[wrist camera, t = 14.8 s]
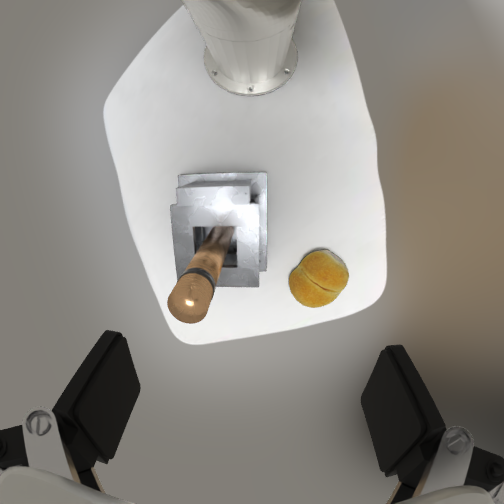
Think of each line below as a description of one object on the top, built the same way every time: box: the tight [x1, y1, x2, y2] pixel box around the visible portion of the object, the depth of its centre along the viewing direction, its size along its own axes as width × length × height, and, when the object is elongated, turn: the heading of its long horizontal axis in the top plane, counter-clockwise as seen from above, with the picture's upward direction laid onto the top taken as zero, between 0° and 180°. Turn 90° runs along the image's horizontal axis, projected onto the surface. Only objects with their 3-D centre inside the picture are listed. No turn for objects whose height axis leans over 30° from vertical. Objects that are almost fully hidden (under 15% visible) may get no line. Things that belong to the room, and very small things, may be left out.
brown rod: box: [167, 226, 234, 323], centre depth 29 cm, size 3×3×20 cm
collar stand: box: [170, 172, 267, 287], centre depth 35 cm, size 14×12×8 cm
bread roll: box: [289, 249, 349, 308], centre depth 39 cm, size 8×9×4 cm
